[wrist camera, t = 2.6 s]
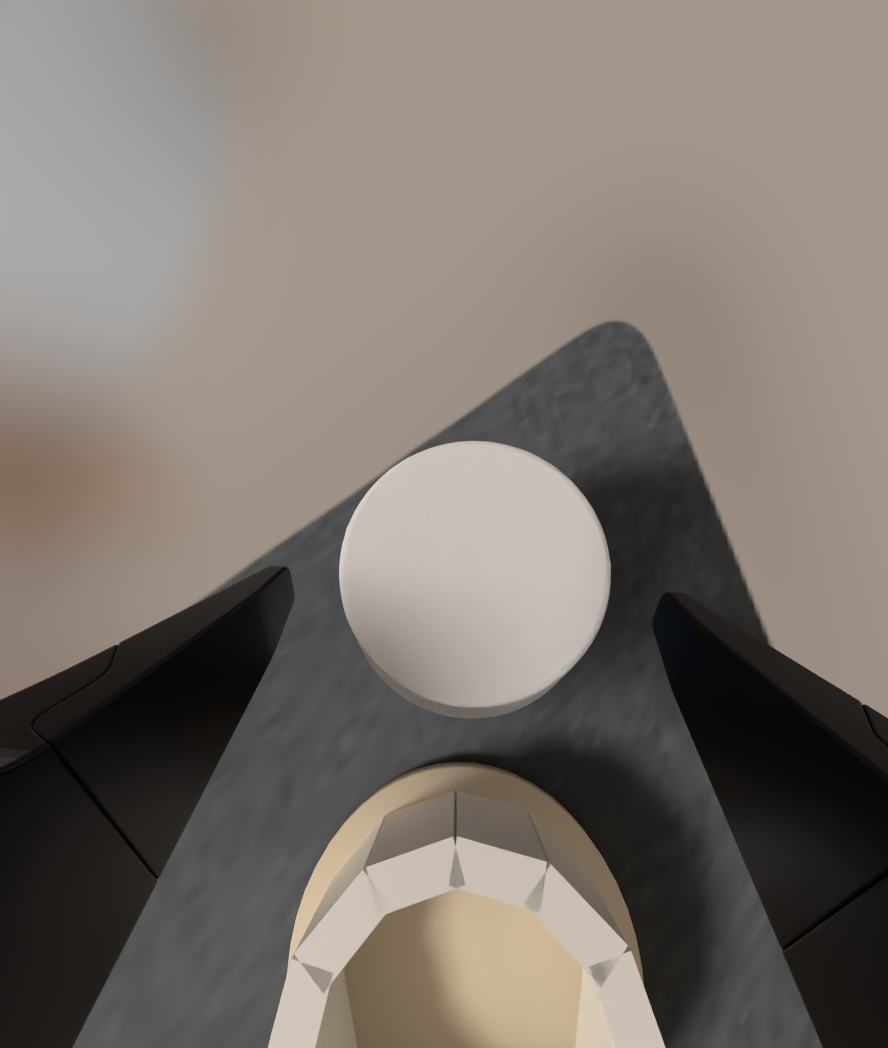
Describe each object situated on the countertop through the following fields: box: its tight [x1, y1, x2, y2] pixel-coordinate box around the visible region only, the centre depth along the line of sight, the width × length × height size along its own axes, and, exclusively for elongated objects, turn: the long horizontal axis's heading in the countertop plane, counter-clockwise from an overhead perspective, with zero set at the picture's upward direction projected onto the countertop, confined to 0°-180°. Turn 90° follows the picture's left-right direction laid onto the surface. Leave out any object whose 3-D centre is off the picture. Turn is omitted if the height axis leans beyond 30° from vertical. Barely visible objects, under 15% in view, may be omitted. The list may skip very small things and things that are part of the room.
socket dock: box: [268, 762, 665, 1048], centre depth 12 cm, size 12×12×4 cm
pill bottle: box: [339, 441, 611, 719], centre depth 12 cm, size 6×6×11 cm
